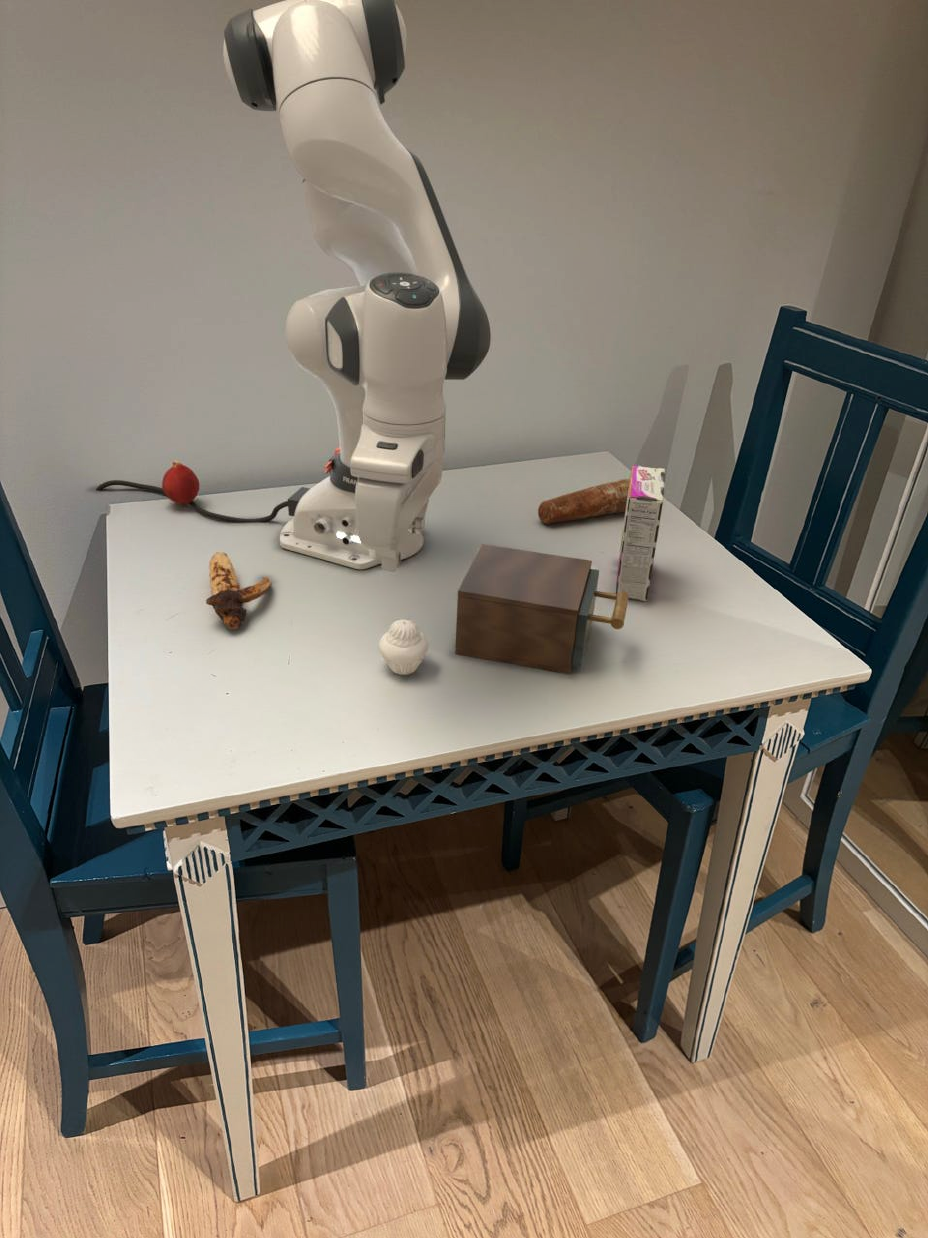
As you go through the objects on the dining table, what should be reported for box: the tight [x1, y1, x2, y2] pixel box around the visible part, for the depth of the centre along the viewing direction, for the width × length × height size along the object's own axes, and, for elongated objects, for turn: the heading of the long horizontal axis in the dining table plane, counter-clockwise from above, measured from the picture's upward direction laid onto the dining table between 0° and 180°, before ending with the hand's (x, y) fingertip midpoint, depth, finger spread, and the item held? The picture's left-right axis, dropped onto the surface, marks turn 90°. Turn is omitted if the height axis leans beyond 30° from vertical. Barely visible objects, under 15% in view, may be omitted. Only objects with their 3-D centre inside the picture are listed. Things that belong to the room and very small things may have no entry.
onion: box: [161, 460, 200, 507], centre depth 147 cm, size 6×6×8 cm
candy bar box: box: [615, 465, 666, 602], centre depth 129 cm, size 11×5×16 cm, turn 168°
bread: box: [537, 477, 631, 525], centre depth 151 cm, size 6×19×6 cm, turn 113°
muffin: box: [378, 618, 429, 676], centre depth 111 cm, size 6×6×7 cm
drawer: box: [572, 568, 630, 668], centre depth 117 cm, size 18×12×8 cm, turn 76°
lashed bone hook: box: [205, 551, 272, 630], centre depth 124 cm, size 9×5×18 cm
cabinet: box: [454, 543, 593, 675], centre depth 117 cm, size 15×13×10 cm
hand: (404, 548), depth 104 cm, fingers open, 8 cm apart
